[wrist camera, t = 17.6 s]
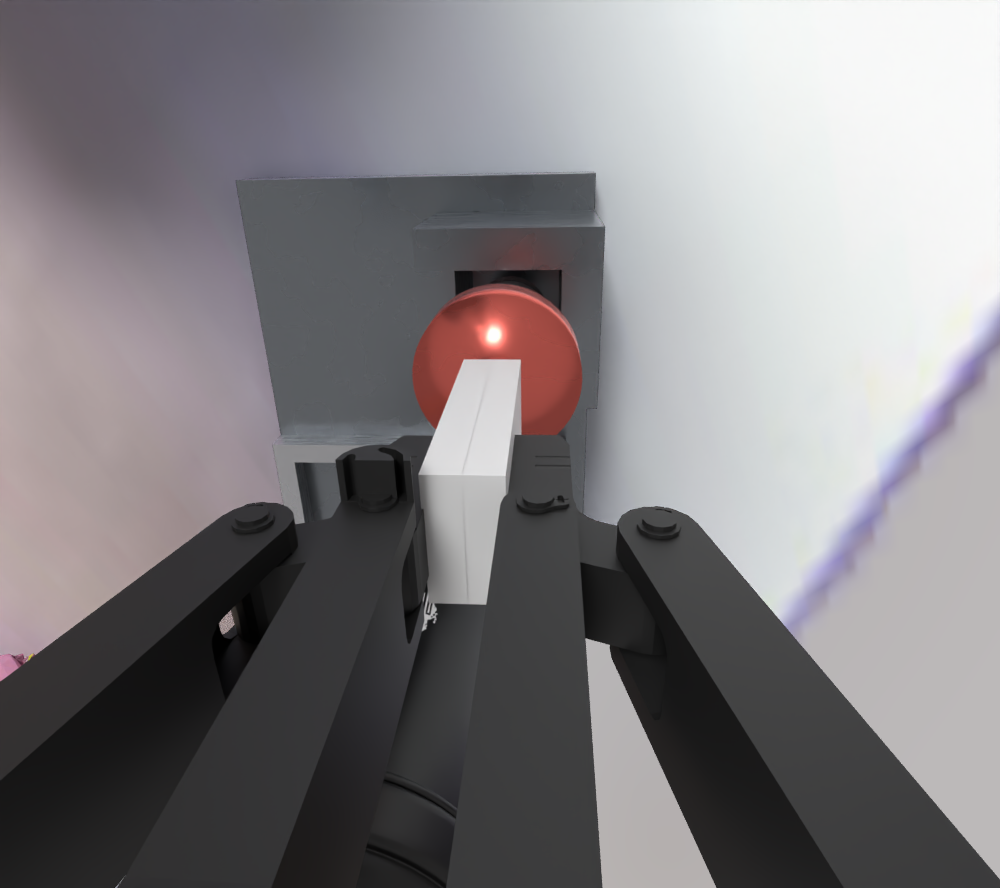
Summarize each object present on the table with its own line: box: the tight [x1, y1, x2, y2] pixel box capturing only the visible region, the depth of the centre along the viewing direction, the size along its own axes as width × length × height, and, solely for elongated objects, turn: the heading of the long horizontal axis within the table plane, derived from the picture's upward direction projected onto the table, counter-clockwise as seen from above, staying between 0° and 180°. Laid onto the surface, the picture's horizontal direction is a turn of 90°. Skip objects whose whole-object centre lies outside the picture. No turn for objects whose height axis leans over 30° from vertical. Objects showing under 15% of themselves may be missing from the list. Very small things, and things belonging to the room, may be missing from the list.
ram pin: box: [412, 276, 582, 435], centre depth 23 cm, size 5×5×8 cm
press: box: [236, 172, 605, 524], centre depth 33 cm, size 16×28×8 cm, turn 1°
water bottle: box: [356, 584, 486, 888], centre depth 27 cm, size 10×10×23 cm
